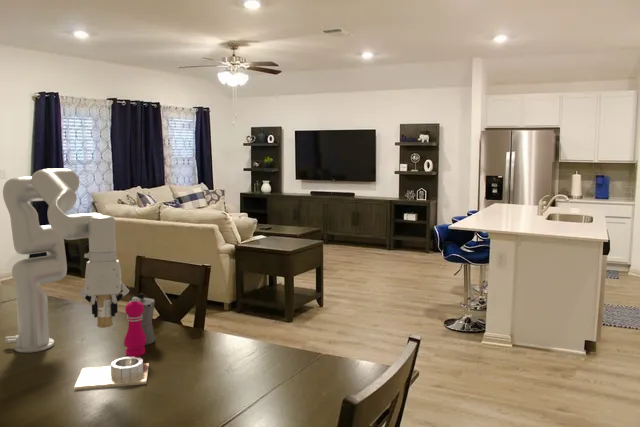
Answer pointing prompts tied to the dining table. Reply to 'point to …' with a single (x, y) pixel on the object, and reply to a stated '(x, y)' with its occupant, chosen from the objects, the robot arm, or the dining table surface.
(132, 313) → the pepper mill
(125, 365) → the white ring holder board
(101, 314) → the sprinkles bottle
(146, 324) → the coffeepot
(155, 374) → the dining table surface
